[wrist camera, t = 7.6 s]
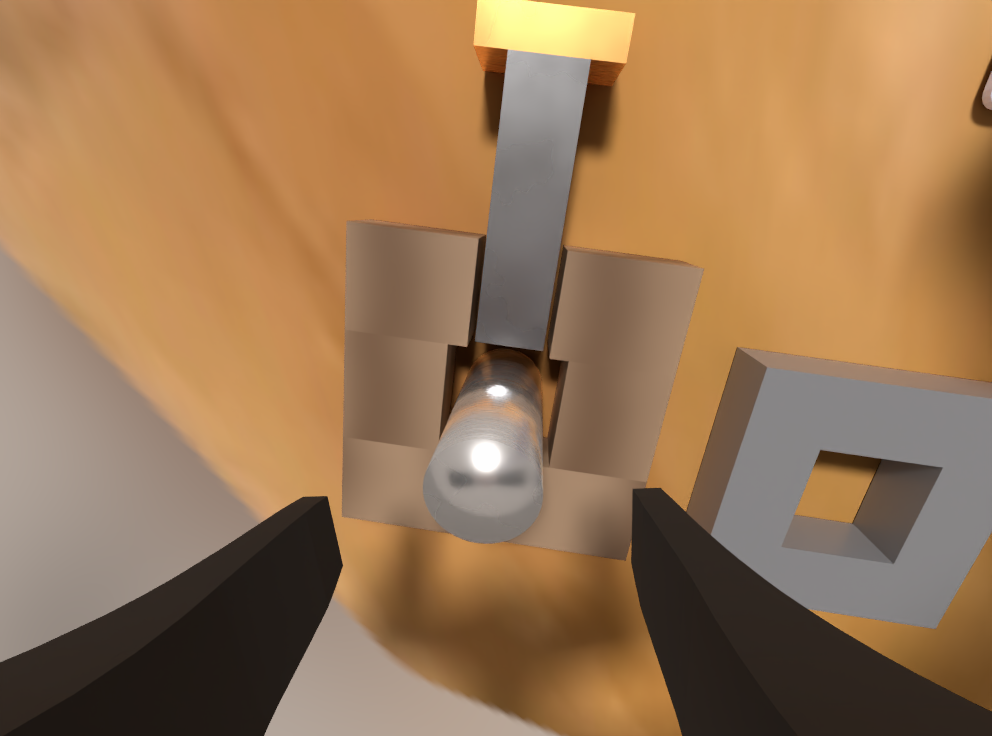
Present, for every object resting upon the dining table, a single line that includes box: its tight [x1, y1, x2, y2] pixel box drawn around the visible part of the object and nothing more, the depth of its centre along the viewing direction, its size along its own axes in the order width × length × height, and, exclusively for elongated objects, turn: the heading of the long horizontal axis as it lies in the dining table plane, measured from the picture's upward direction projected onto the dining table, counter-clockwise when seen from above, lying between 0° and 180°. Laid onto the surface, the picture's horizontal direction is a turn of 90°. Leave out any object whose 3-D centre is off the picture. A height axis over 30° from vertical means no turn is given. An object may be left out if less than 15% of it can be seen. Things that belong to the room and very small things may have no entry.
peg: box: [423, 349, 543, 544], centre depth 16 cm, size 3×3×8 cm
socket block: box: [342, 220, 704, 561], centre depth 19 cm, size 12×12×2 cm
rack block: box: [686, 347, 992, 629], centre depth 19 cm, size 10×10×2 cm
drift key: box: [474, 0, 635, 351], centre depth 16 cm, size 4×10×3 cm, turn 173°
